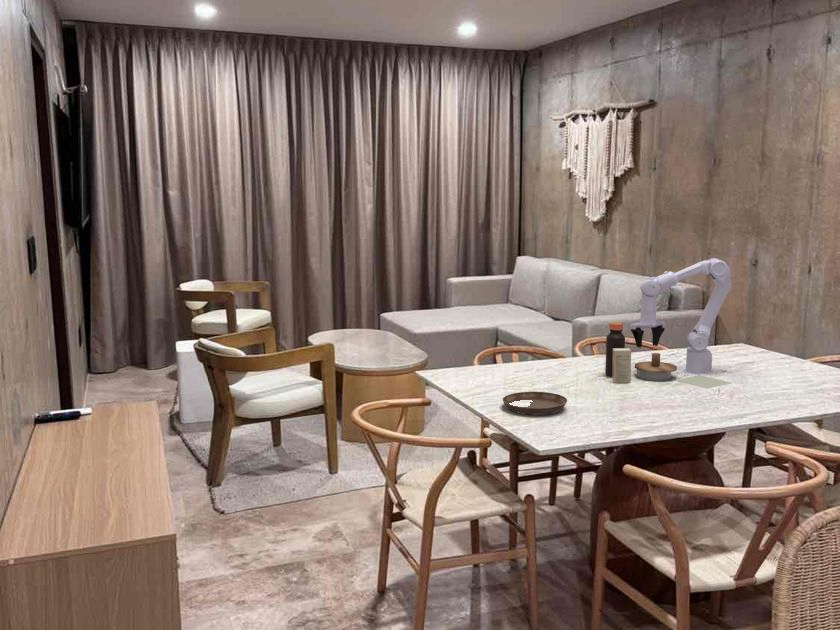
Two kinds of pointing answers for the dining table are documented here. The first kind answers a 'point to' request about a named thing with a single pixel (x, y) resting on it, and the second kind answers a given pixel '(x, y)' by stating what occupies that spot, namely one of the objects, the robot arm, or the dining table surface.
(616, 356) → the skincare box
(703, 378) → the mat
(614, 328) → the bottle
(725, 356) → the dining table surface
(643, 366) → the lid
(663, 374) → the bowl
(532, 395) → the plant saucer
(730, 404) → the dining table surface
